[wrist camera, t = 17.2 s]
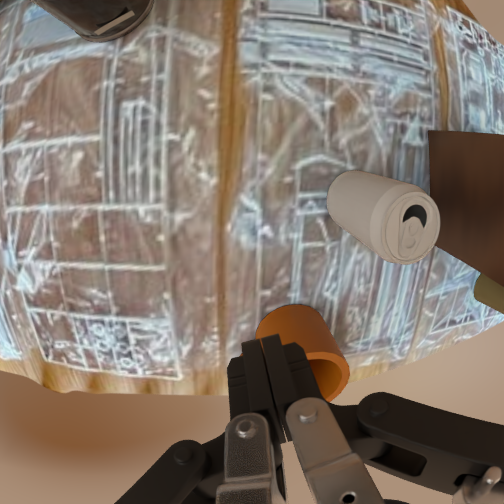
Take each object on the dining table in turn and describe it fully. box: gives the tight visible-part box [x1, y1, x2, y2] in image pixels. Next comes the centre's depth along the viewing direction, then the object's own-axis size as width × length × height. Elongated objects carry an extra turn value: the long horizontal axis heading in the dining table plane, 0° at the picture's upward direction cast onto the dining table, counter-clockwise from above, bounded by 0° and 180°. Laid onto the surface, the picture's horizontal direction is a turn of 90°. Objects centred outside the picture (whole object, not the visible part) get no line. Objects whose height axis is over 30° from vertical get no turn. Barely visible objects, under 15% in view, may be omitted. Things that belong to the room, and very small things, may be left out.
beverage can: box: [327, 170, 440, 265], centre depth 26 cm, size 6×6×12 cm
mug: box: [240, 304, 350, 402], centre depth 32 cm, size 9×12×9 cm
